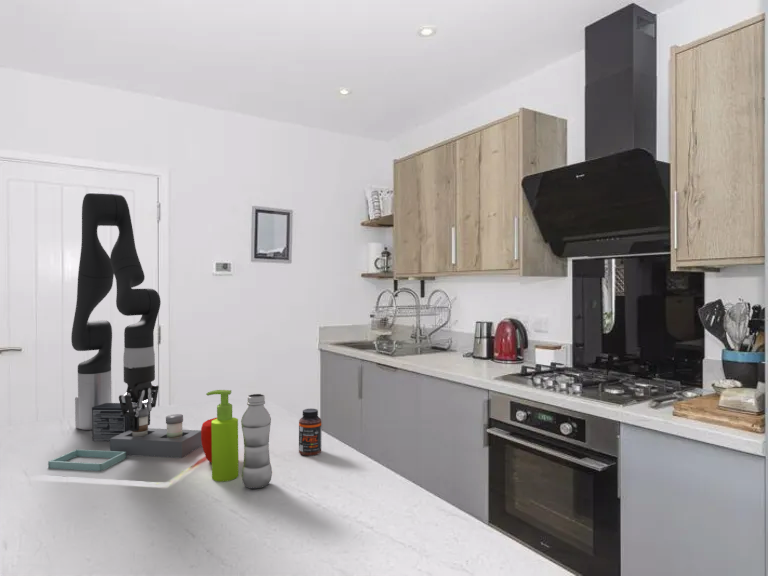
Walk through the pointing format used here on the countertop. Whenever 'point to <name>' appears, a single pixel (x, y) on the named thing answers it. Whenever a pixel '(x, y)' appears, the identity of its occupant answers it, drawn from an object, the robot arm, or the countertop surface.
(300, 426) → the supplement bottle
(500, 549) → the countertop surface
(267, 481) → the plastic bottle
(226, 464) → the soap dispenser
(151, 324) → the robot arm
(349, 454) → the countertop surface
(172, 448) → the block
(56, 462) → the tray
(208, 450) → the apple
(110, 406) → the small box
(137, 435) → the fuse
